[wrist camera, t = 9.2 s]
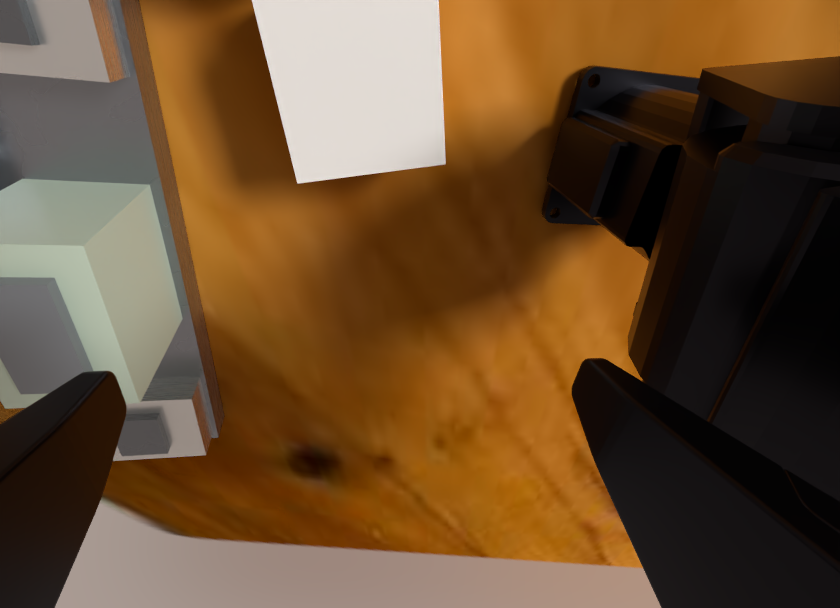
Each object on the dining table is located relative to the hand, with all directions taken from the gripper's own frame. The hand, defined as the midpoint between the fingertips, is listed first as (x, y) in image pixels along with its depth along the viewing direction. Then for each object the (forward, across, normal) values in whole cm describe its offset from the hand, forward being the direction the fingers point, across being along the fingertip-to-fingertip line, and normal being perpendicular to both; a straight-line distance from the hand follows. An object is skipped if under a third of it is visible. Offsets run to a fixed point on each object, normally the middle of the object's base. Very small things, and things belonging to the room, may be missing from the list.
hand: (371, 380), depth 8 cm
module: (+10, +9, +3) cm, 14 cm away
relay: (+12, 0, -4) cm, 13 cm away
